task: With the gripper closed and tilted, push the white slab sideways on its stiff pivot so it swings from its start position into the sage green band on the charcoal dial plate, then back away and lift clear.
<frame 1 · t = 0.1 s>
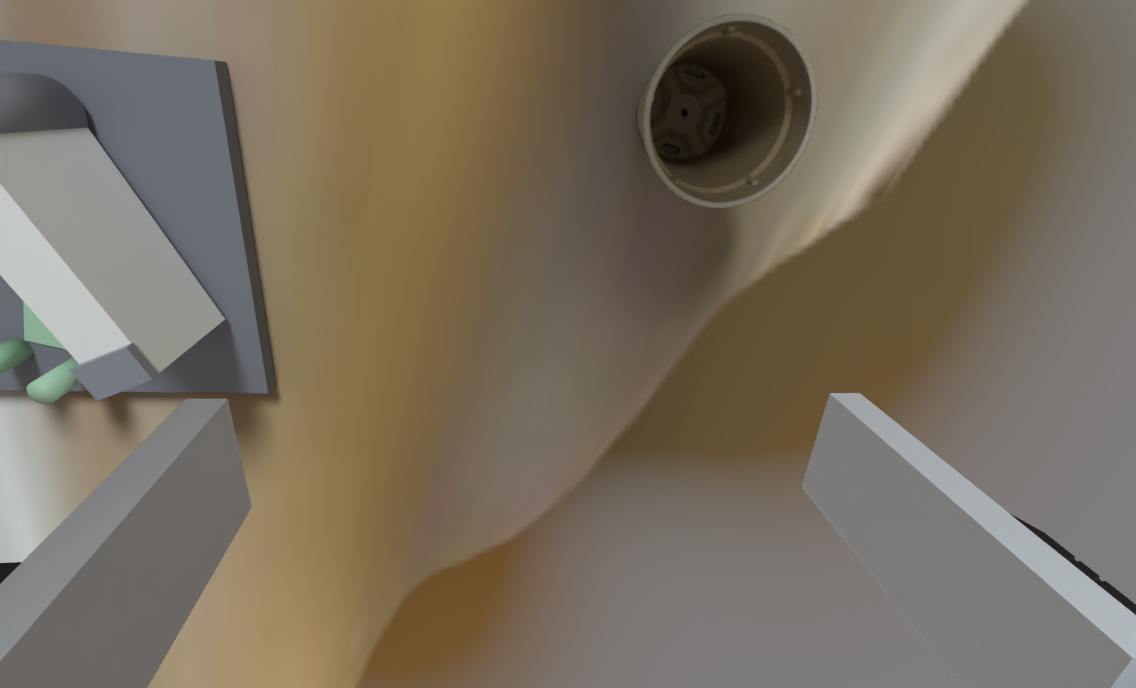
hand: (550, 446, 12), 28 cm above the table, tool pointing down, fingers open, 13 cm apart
flower pot: (679, 113, 36), on the table
white slab: (68, 231, 29), point 7 cm above the table, hinge at 25.0°
dial plate: (72, 113, 32), on the table
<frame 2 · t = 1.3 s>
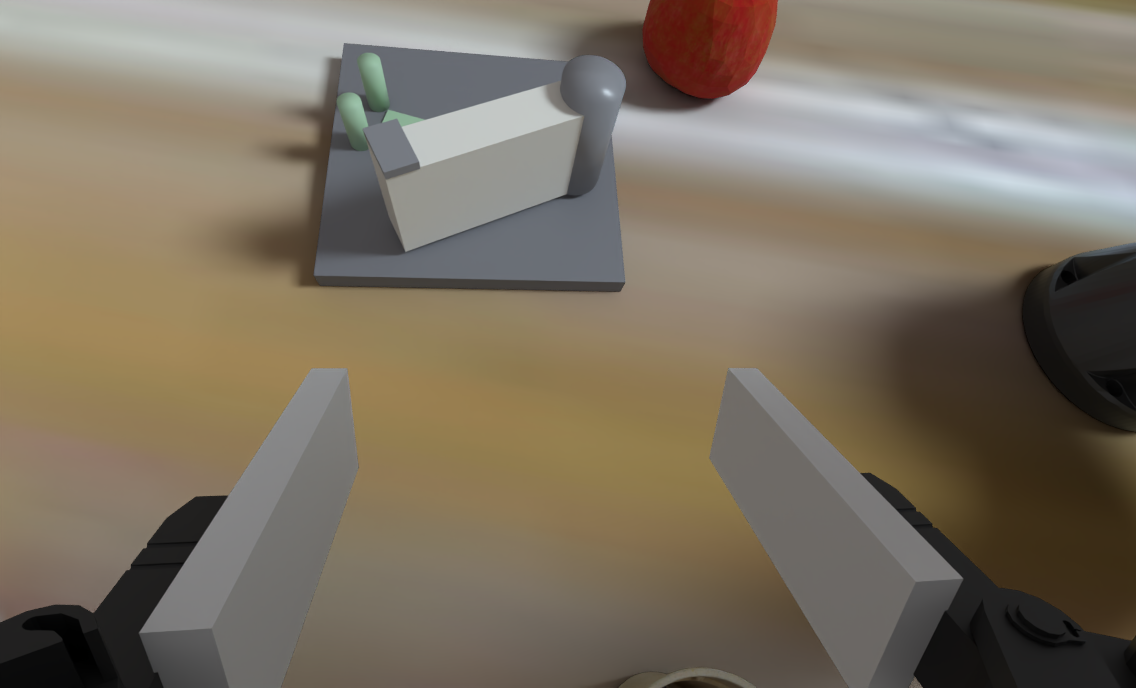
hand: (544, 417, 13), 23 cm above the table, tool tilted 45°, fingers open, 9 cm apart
white slab: (503, 157, 36), point 7 cm above the table, hinge at 25.0°
apple: (688, 71, 50), on the table
dial plate: (569, 189, 43), on the table
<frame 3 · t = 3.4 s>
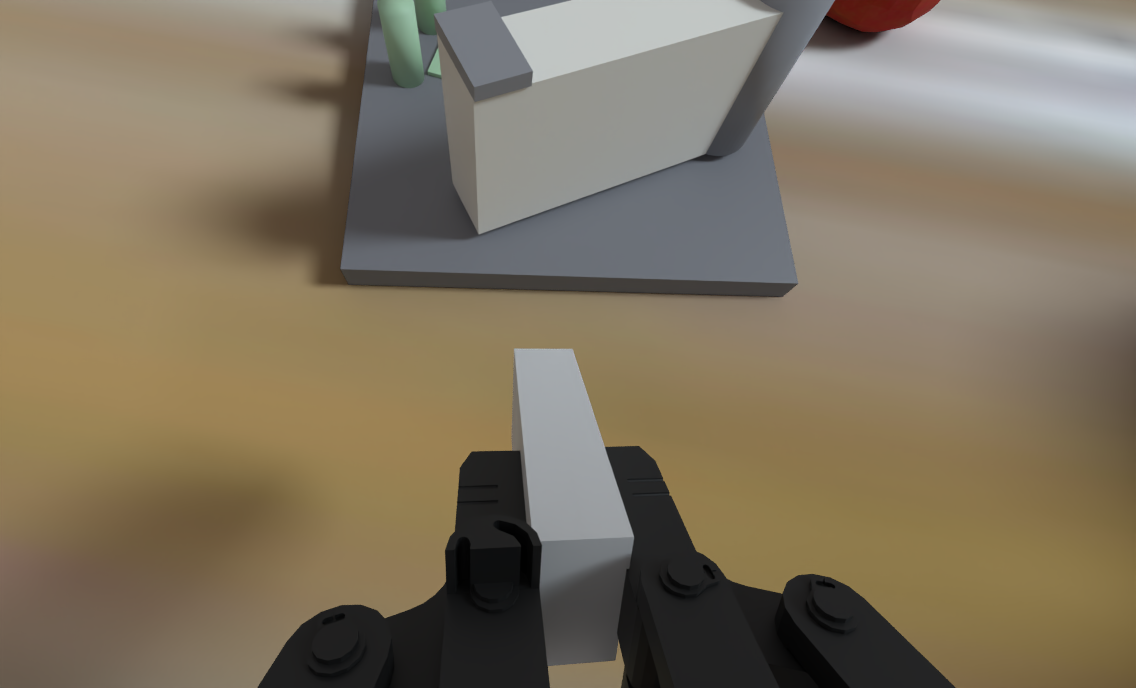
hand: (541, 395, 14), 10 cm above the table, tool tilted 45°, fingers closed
white slab: (636, 87, 23), point 6 cm above the table, hinge at 25.0°
dial plate: (697, 150, 31), on the table
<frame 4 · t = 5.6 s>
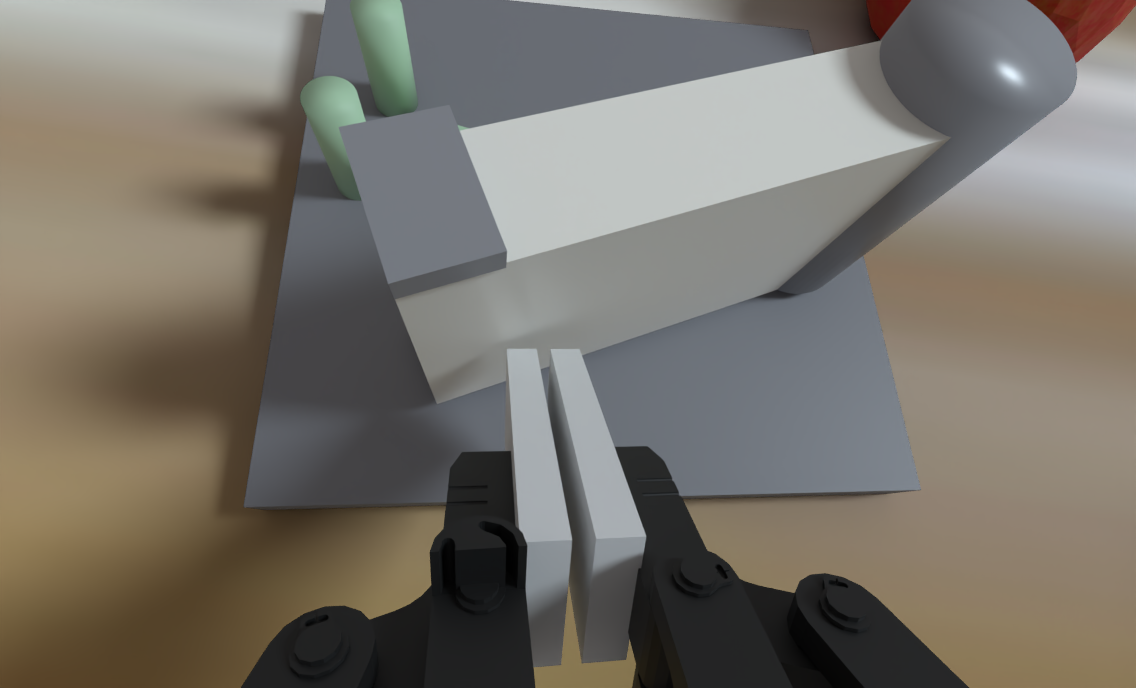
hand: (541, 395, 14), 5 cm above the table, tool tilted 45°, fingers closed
white slab: (691, 219, 15), point 6 cm above the table, hinge at 19.6°, touching gripper
apple: (930, 46, 29), on the table
dial plate: (762, 270, 22), on the table
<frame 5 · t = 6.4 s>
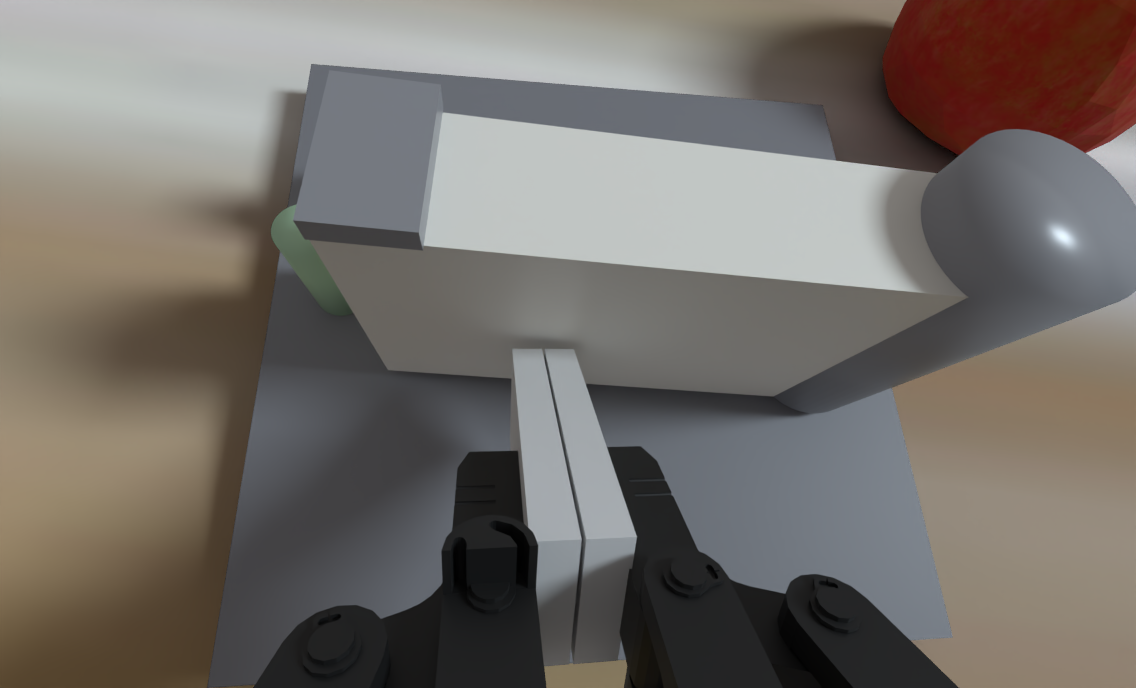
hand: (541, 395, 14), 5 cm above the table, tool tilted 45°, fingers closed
white slab: (681, 286, 14), point 6 cm above the table, hinge at -3.8°, touching gripper
apple: (950, 112, 27), on the table
dial plate: (776, 373, 21), on the table
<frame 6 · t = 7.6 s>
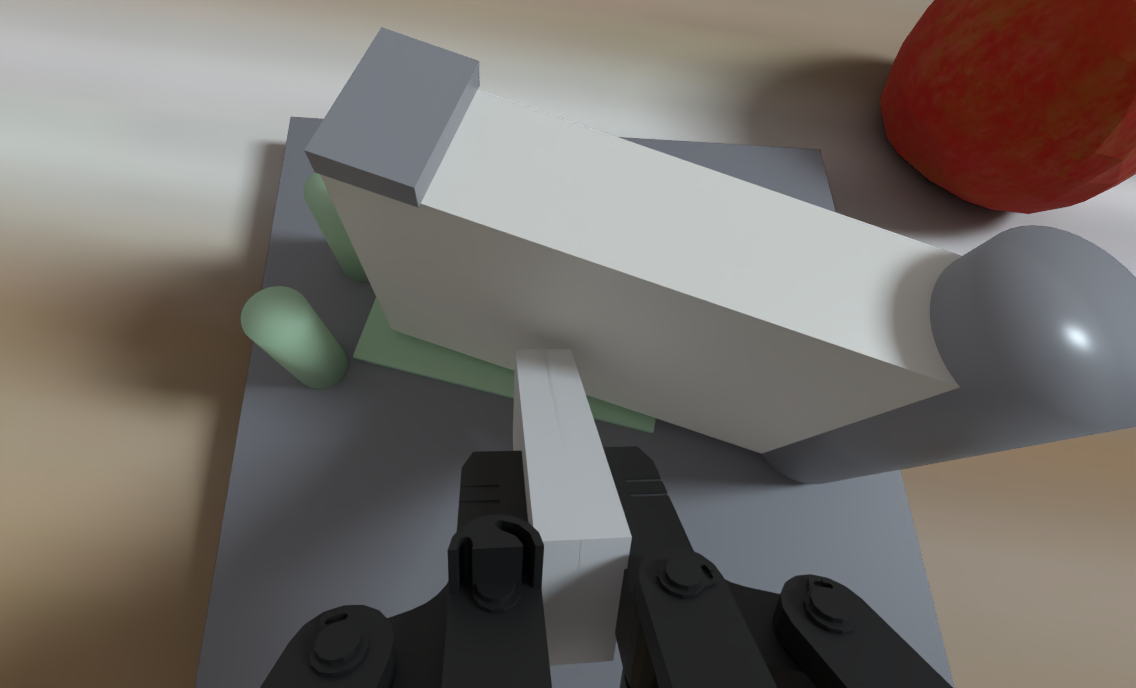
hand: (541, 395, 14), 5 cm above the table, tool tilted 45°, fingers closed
white slab: (681, 313, 14), point 7 cm above the table, hinge at -19.5°, touching gripper
apple: (949, 150, 27), on the table
dial plate: (775, 434, 20), on the table
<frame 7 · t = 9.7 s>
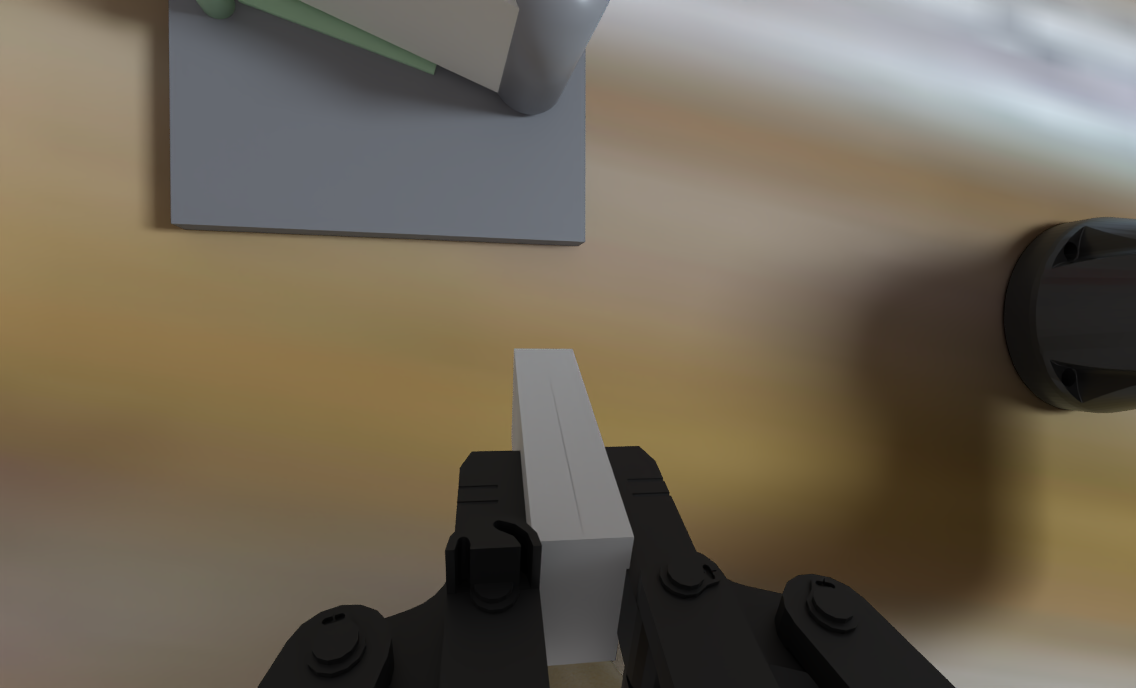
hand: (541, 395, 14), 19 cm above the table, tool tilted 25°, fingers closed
dial plate: (522, 94, 33), on the table
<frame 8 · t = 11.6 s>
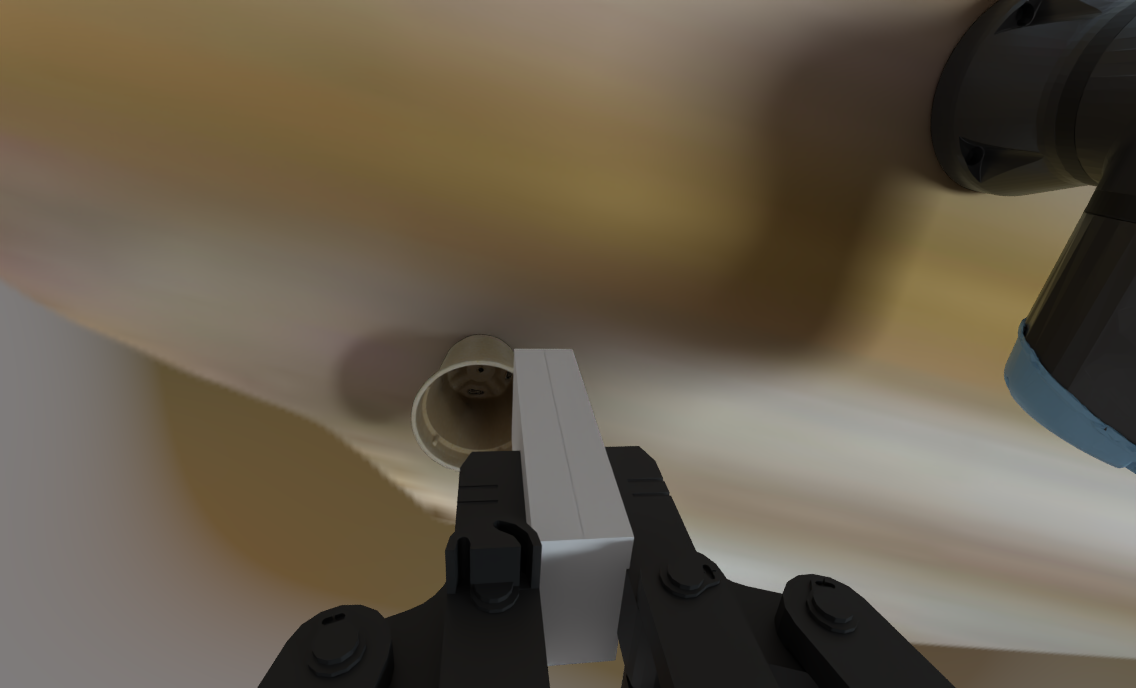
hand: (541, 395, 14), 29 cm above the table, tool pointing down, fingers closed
flower pot: (480, 364, 46), on the table
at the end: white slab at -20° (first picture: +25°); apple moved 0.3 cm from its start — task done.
